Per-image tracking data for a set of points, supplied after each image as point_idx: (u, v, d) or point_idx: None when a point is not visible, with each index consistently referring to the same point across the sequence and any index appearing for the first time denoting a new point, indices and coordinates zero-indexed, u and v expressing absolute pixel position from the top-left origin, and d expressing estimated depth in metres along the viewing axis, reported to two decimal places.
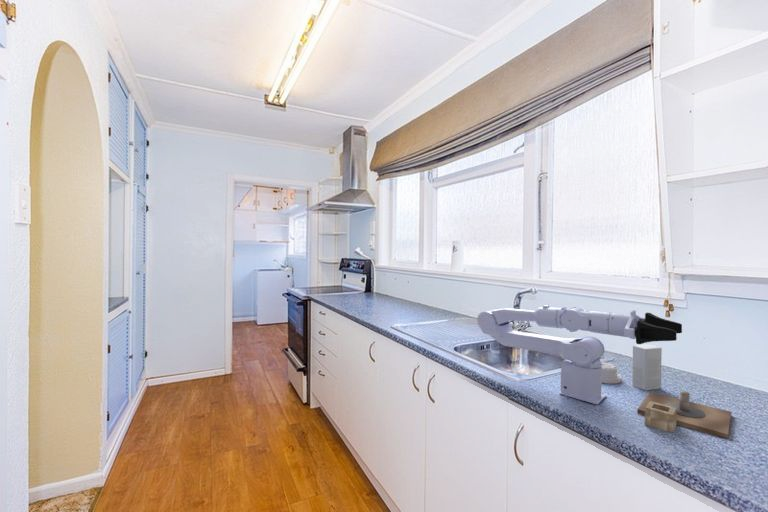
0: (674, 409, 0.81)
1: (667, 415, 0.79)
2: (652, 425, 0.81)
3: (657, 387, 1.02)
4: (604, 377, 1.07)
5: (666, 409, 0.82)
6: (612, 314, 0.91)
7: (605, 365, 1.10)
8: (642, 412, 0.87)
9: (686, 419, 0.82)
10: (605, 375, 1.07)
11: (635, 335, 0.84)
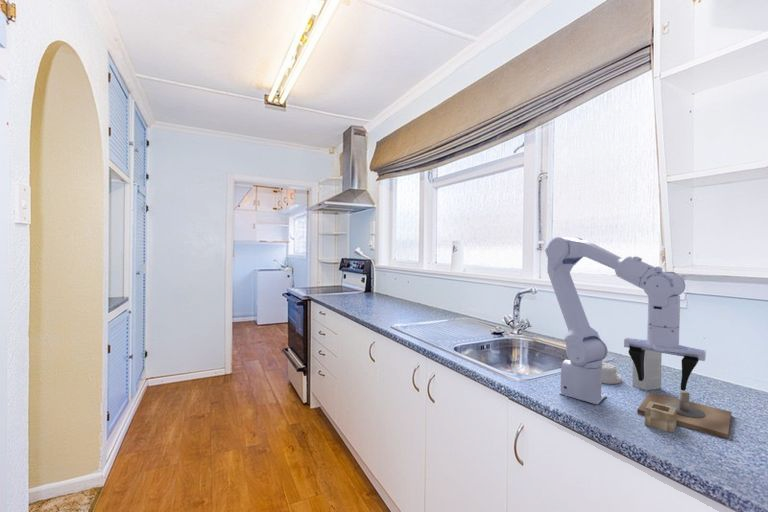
0: (674, 409, 0.81)
1: (667, 415, 0.79)
2: (652, 425, 0.81)
3: (657, 387, 1.02)
4: (604, 377, 1.07)
5: (666, 409, 0.82)
6: (656, 328, 0.80)
7: (605, 365, 1.10)
8: (642, 412, 0.87)
9: (686, 419, 0.82)
10: (605, 375, 1.07)
11: None
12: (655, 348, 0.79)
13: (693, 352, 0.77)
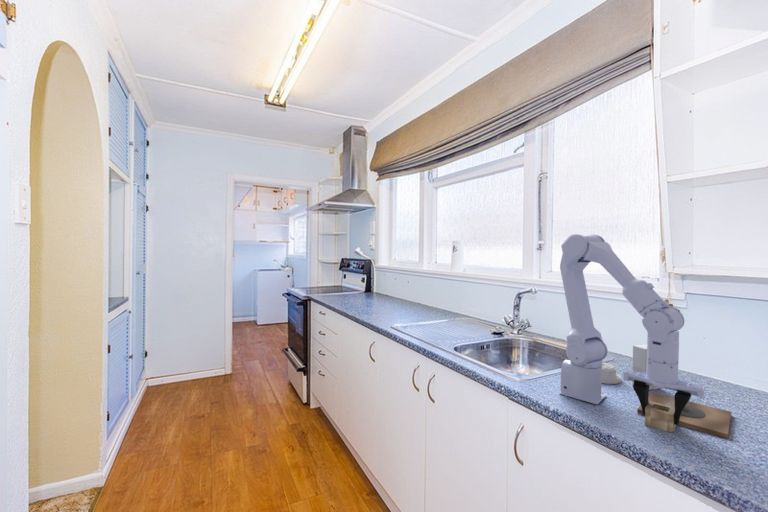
0: (674, 409, 0.81)
1: (667, 415, 0.79)
2: (652, 425, 0.81)
3: (657, 387, 1.02)
4: (603, 377, 1.07)
5: (666, 409, 0.82)
6: (655, 363, 0.80)
7: (604, 365, 1.10)
8: (642, 412, 0.87)
9: (686, 419, 0.82)
10: (604, 375, 1.07)
11: (629, 379, 0.87)
12: (654, 384, 0.79)
13: (692, 389, 0.77)
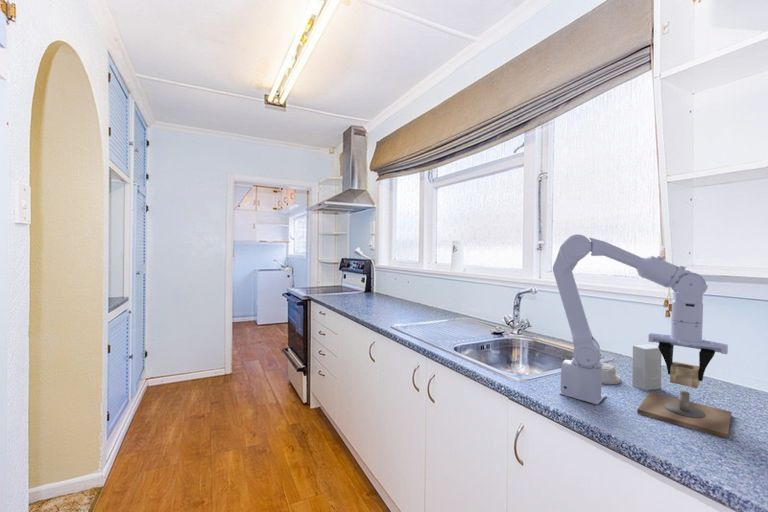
0: (698, 367, 0.86)
1: (692, 372, 0.84)
2: (677, 382, 0.86)
3: (657, 387, 1.02)
4: (603, 377, 1.07)
5: (690, 368, 0.87)
6: (680, 324, 0.85)
7: (604, 365, 1.10)
8: (642, 412, 0.87)
9: (686, 419, 0.82)
10: (604, 375, 1.07)
11: (654, 341, 0.91)
12: (680, 342, 0.84)
13: (716, 346, 0.82)
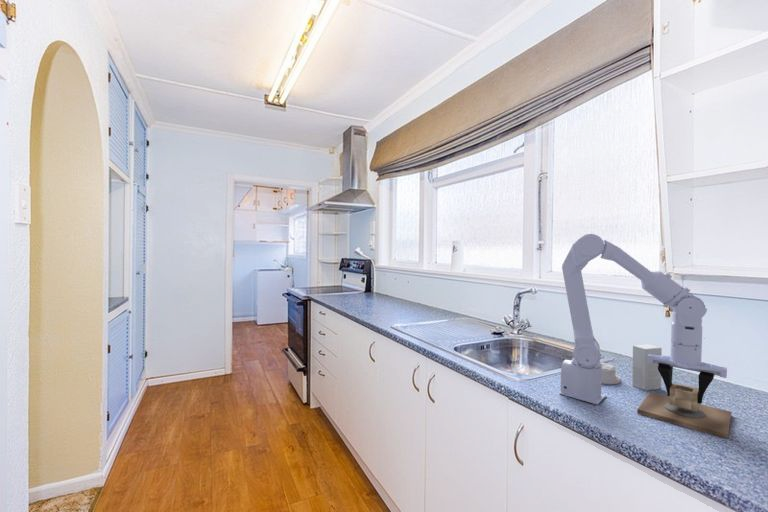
0: (697, 389, 0.86)
1: (691, 395, 0.84)
2: (676, 404, 0.86)
3: (657, 387, 1.02)
4: (603, 378, 1.07)
5: (689, 390, 0.87)
6: (679, 346, 0.85)
7: (604, 365, 1.10)
8: (642, 412, 0.87)
9: (686, 419, 0.82)
10: (604, 376, 1.07)
11: (653, 362, 0.92)
12: (679, 365, 0.84)
13: (715, 369, 0.82)
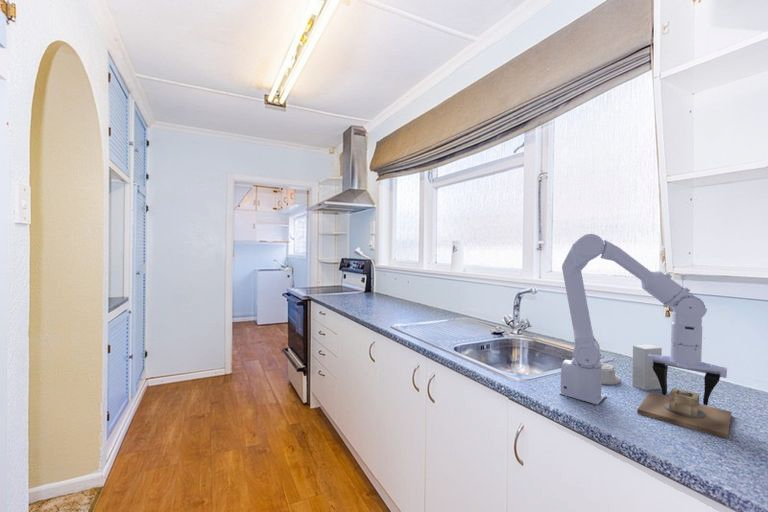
0: (697, 395, 0.86)
1: (691, 400, 0.84)
2: (676, 410, 0.86)
3: (657, 387, 1.02)
4: (603, 378, 1.07)
5: (689, 395, 0.87)
6: (679, 346, 0.85)
7: (603, 366, 1.10)
8: (642, 412, 0.87)
9: (686, 419, 0.82)
10: (604, 376, 1.07)
11: None
12: (679, 365, 0.84)
13: (715, 369, 0.82)
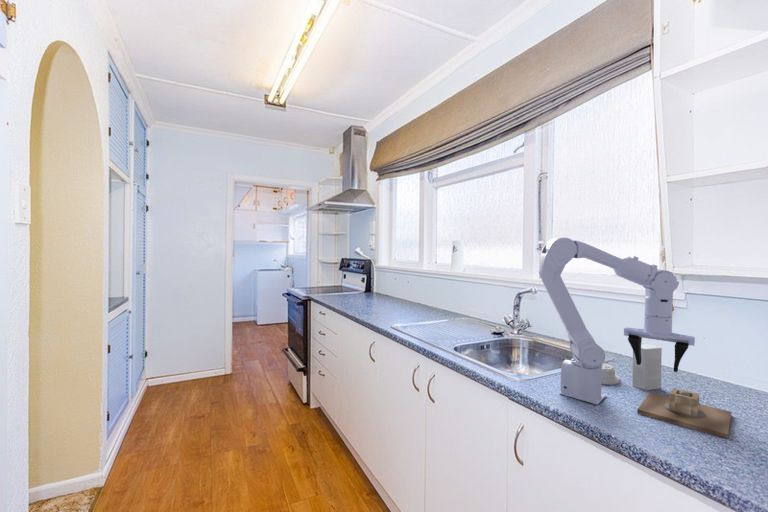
0: (697, 395, 0.86)
1: (691, 400, 0.84)
2: (676, 410, 0.86)
3: (657, 387, 1.02)
4: (602, 378, 1.07)
5: (689, 395, 0.87)
6: (652, 318, 0.91)
7: (603, 366, 1.09)
8: (642, 412, 0.87)
9: (686, 419, 0.82)
10: (603, 376, 1.07)
11: None
12: (652, 335, 0.90)
13: (684, 338, 0.88)
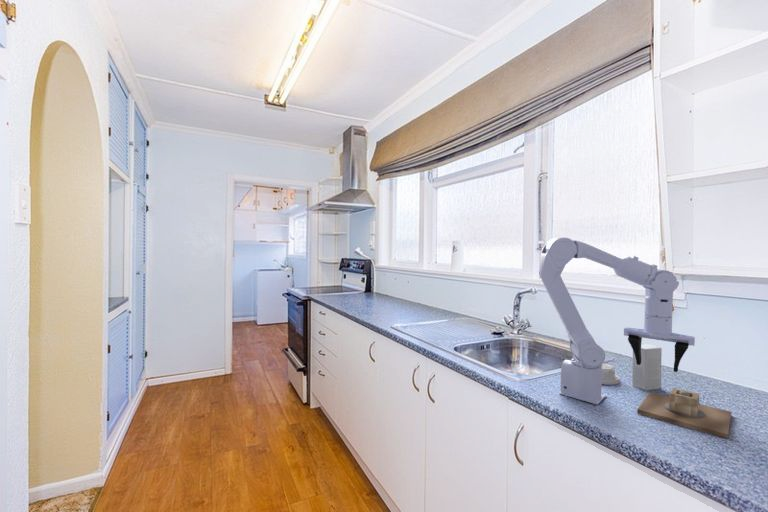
0: (697, 395, 0.86)
1: (691, 400, 0.84)
2: (676, 410, 0.86)
3: (657, 387, 1.02)
4: (602, 378, 1.07)
5: (689, 395, 0.87)
6: (652, 318, 0.91)
7: (603, 366, 1.09)
8: (642, 412, 0.87)
9: (686, 419, 0.82)
10: (603, 376, 1.07)
11: None
12: (652, 335, 0.90)
13: (684, 338, 0.88)
